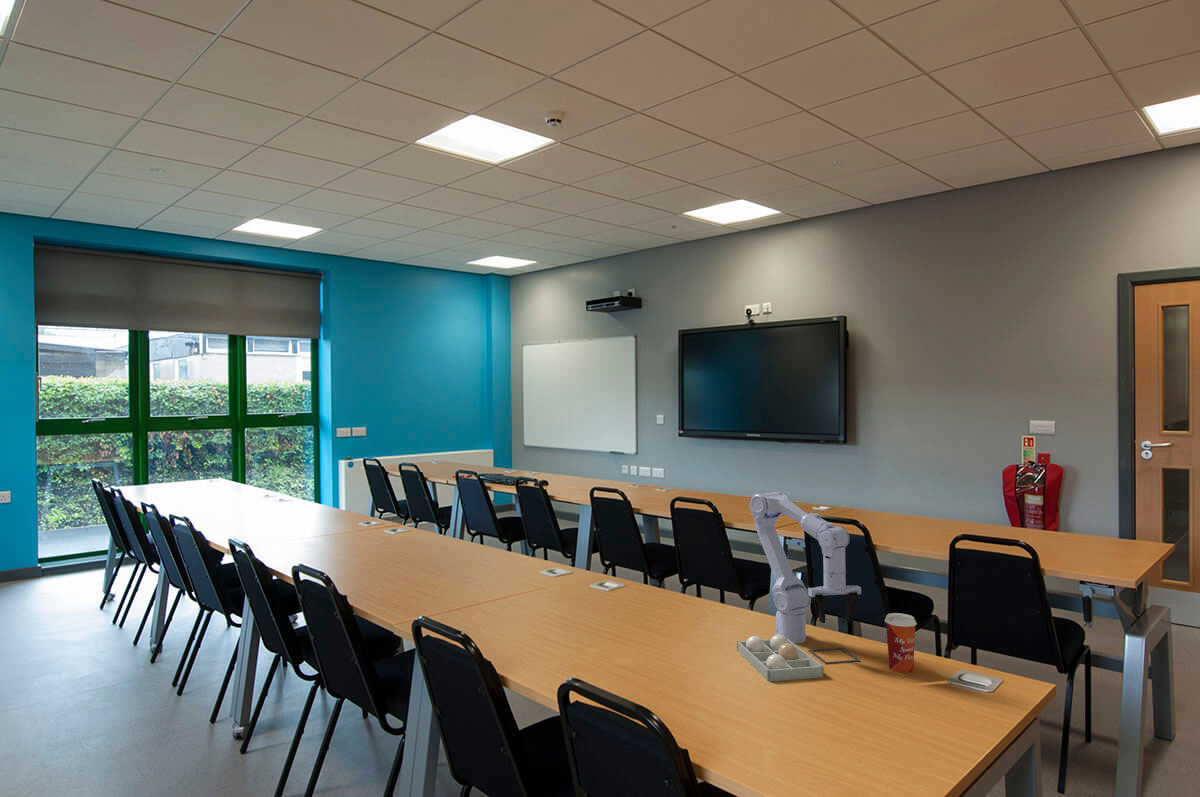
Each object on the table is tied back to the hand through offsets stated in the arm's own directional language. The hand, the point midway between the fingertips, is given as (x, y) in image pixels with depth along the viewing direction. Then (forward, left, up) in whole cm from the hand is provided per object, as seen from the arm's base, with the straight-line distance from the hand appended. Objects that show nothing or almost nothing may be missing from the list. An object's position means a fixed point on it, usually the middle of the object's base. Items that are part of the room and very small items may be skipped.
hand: (835, 621), depth 191 cm
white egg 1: (-4, -22, -9) cm, 24 cm away
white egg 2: (-4, -14, -9) cm, 18 cm away
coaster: (+1, -1, -10) cm, 10 cm away
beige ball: (+3, -14, -9) cm, 17 cm away
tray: (+3, -18, -10) cm, 21 cm away
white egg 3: (+10, -22, -9) cm, 25 cm away
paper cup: (+12, +12, -10) cm, 20 cm away
